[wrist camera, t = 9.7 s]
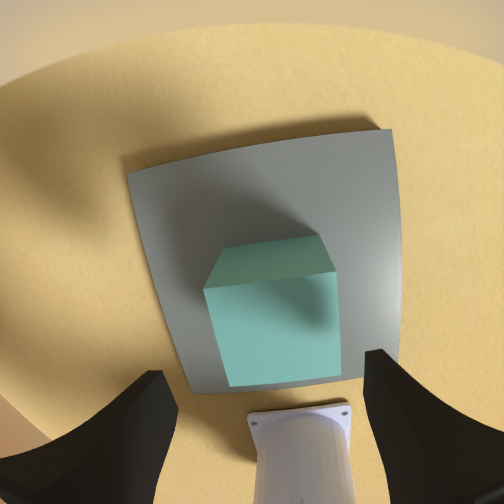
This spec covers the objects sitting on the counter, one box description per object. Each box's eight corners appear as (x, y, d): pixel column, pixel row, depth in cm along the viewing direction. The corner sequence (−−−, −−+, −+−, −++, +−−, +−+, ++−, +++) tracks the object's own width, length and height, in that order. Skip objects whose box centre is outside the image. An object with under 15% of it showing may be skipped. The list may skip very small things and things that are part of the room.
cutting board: (390, 357, 20) (396, 369, 19) (197, 380, 22) (192, 394, 20) (382, 129, 15) (391, 128, 14) (137, 171, 17) (125, 173, 16)
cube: (327, 318, 18) (341, 374, 13) (240, 329, 18) (229, 386, 14) (319, 234, 16) (336, 271, 11) (223, 247, 17) (203, 288, 12)
